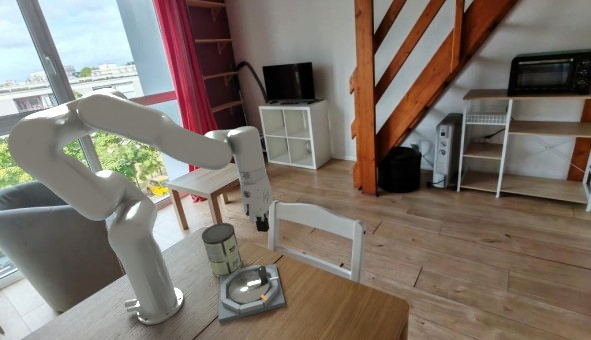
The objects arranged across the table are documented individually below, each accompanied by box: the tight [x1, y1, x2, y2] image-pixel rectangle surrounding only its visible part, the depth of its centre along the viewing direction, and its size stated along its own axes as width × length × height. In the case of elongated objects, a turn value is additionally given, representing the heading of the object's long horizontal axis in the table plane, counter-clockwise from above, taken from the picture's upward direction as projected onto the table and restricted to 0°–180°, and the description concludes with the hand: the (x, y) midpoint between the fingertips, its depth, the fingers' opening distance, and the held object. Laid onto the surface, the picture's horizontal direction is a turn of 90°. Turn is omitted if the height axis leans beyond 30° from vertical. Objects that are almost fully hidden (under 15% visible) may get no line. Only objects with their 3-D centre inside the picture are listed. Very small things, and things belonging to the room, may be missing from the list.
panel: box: [218, 263, 286, 324], centre depth 87 cm, size 18×17×3 cm
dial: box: [229, 265, 270, 305], centre depth 86 cm, size 12×12×6 cm
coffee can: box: [201, 222, 243, 278], centre depth 97 cm, size 10×10×14 cm
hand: (263, 230), depth 86 cm, fingers closed
